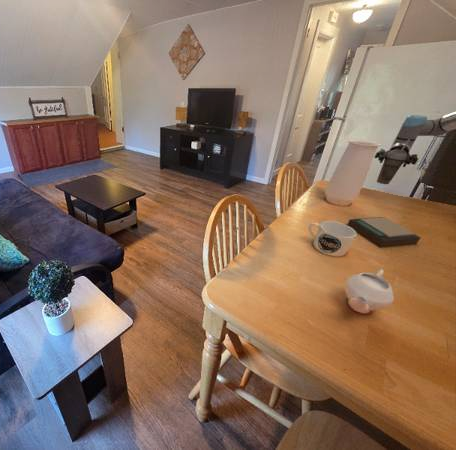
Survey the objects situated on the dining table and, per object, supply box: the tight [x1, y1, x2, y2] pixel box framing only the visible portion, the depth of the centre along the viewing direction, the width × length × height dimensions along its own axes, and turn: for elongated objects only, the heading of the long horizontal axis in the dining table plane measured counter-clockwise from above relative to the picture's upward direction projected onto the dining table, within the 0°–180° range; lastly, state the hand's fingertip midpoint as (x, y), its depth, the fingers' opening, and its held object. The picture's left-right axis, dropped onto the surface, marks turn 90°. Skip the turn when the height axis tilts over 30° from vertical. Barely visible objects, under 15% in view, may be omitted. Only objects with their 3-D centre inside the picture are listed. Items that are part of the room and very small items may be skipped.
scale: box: [346, 216, 421, 249], centre depth 93 cm, size 15×15×4 cm
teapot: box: [344, 268, 395, 314], centre depth 63 cm, size 10×20×9 cm, turn 129°
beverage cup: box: [376, 139, 410, 185], centre depth 110 cm, size 7×7×20 cm
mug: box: [308, 220, 358, 257], centre depth 85 cm, size 13×10×8 cm
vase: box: [324, 138, 382, 207], centre depth 111 cm, size 13×13×28 cm
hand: (393, 161), depth 107 cm, fingers closed on beverage cup, 7 cm apart
